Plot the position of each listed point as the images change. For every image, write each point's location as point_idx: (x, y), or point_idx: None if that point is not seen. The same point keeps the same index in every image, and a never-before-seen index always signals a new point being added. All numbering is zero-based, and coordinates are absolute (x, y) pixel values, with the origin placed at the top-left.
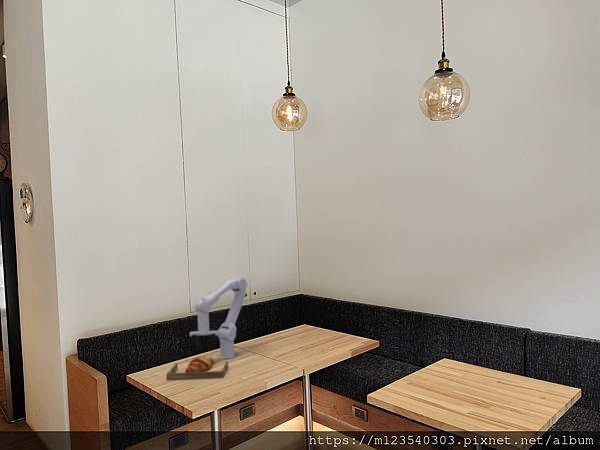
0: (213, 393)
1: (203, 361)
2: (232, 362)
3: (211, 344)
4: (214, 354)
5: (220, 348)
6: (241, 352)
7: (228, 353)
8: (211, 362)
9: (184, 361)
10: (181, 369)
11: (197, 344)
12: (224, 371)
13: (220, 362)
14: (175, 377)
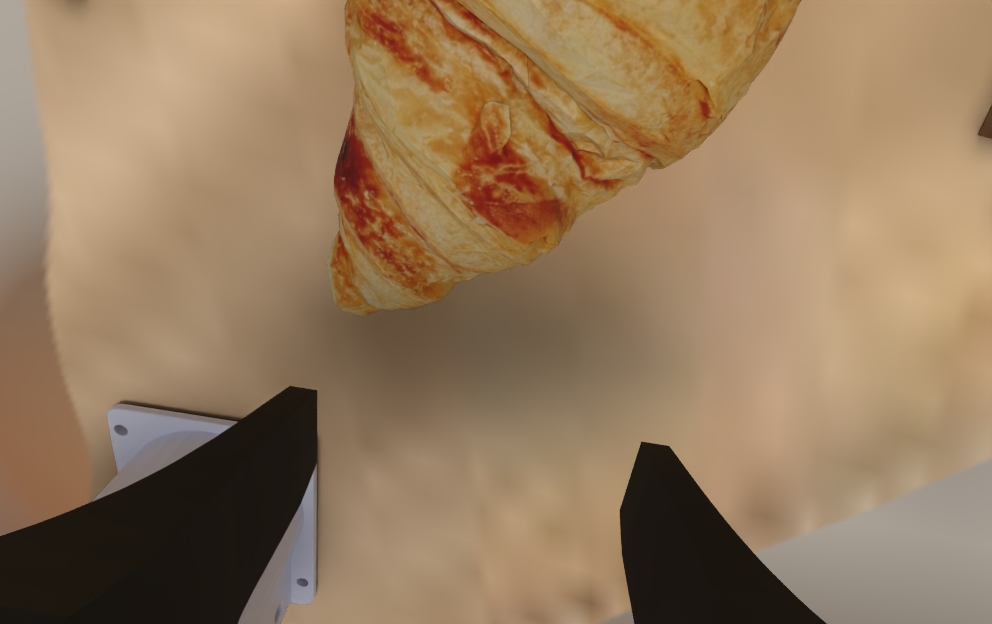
0: None
1: None
2: (73, 231)
3: (229, 445)
4: (410, 605)
5: (255, 592)
6: None
7: (146, 469)
8: (350, 120)
9: (803, 477)
10: (910, 102)
11: (655, 573)
12: None
13: (265, 285)
14: None
